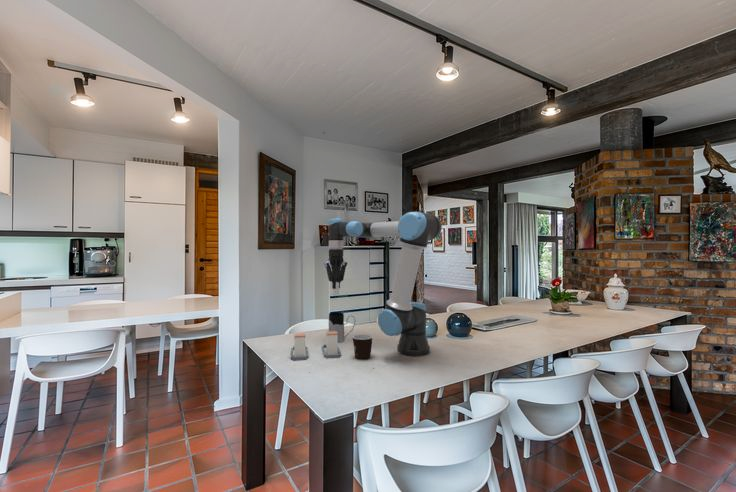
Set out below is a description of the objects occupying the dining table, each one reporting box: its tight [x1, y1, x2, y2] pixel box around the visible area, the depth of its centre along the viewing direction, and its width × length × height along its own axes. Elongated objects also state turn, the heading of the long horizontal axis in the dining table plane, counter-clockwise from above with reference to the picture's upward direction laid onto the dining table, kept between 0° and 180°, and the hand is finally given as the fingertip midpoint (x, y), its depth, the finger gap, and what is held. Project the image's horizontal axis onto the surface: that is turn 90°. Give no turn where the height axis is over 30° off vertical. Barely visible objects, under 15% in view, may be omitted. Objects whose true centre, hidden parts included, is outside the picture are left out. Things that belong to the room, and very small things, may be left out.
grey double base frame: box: [290, 343, 342, 362], centre depth 156 cm, size 18×22×2 cm
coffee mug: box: [352, 334, 373, 361], centre depth 151 cm, size 12×9×10 cm
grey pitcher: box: [328, 312, 356, 344], centre depth 176 cm, size 9×14×15 cm, turn 104°
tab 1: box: [293, 332, 306, 357], centre depth 150 cm, size 4×5×10 cm
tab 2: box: [325, 331, 339, 355], centre depth 154 cm, size 4×5×10 cm
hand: (336, 295), depth 177 cm, fingers closed
